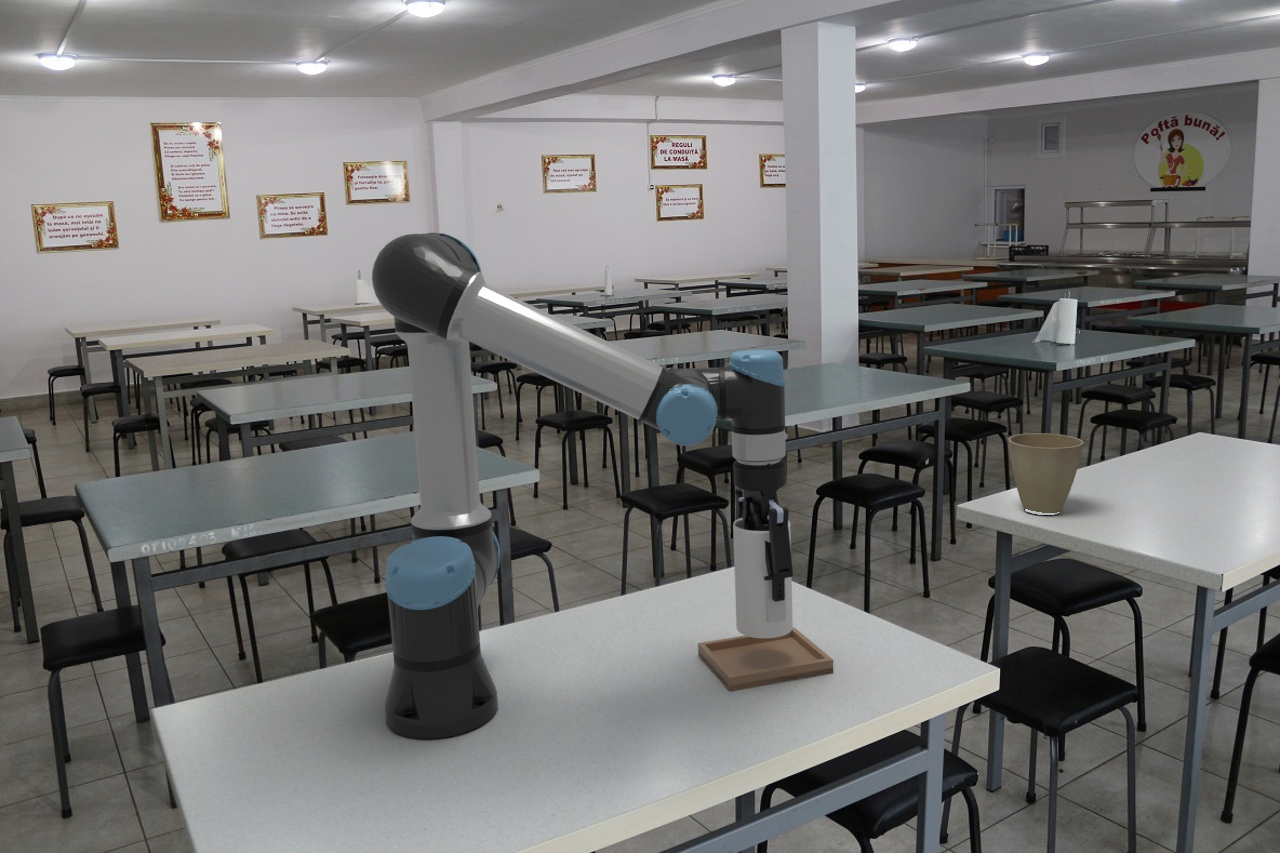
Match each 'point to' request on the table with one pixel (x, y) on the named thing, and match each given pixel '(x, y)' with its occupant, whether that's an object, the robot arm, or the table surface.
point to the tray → (764, 659)
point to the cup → (756, 585)
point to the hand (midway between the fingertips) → (763, 609)
